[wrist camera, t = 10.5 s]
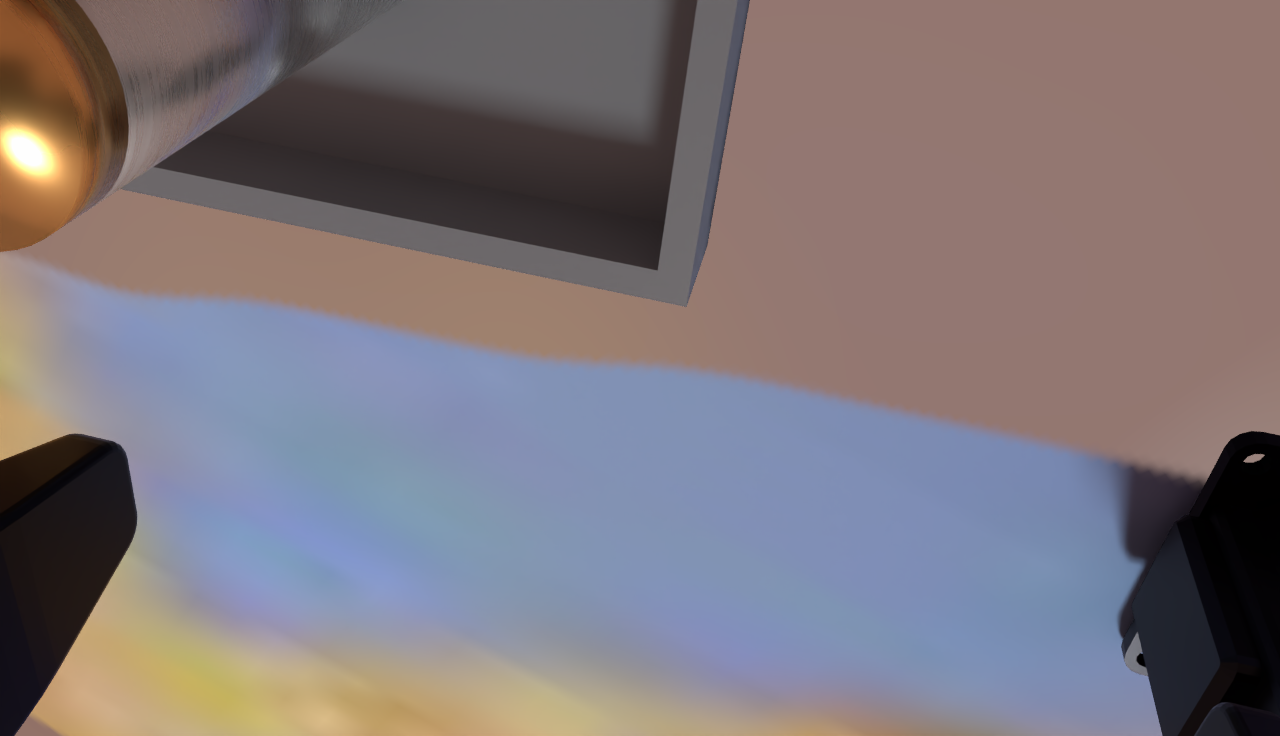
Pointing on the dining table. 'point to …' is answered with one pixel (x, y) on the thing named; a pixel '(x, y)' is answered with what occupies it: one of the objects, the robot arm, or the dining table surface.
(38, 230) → the pin
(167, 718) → the dining table surface
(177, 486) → the dining table surface
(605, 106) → the tray
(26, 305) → the dining table surface
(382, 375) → the dining table surface
